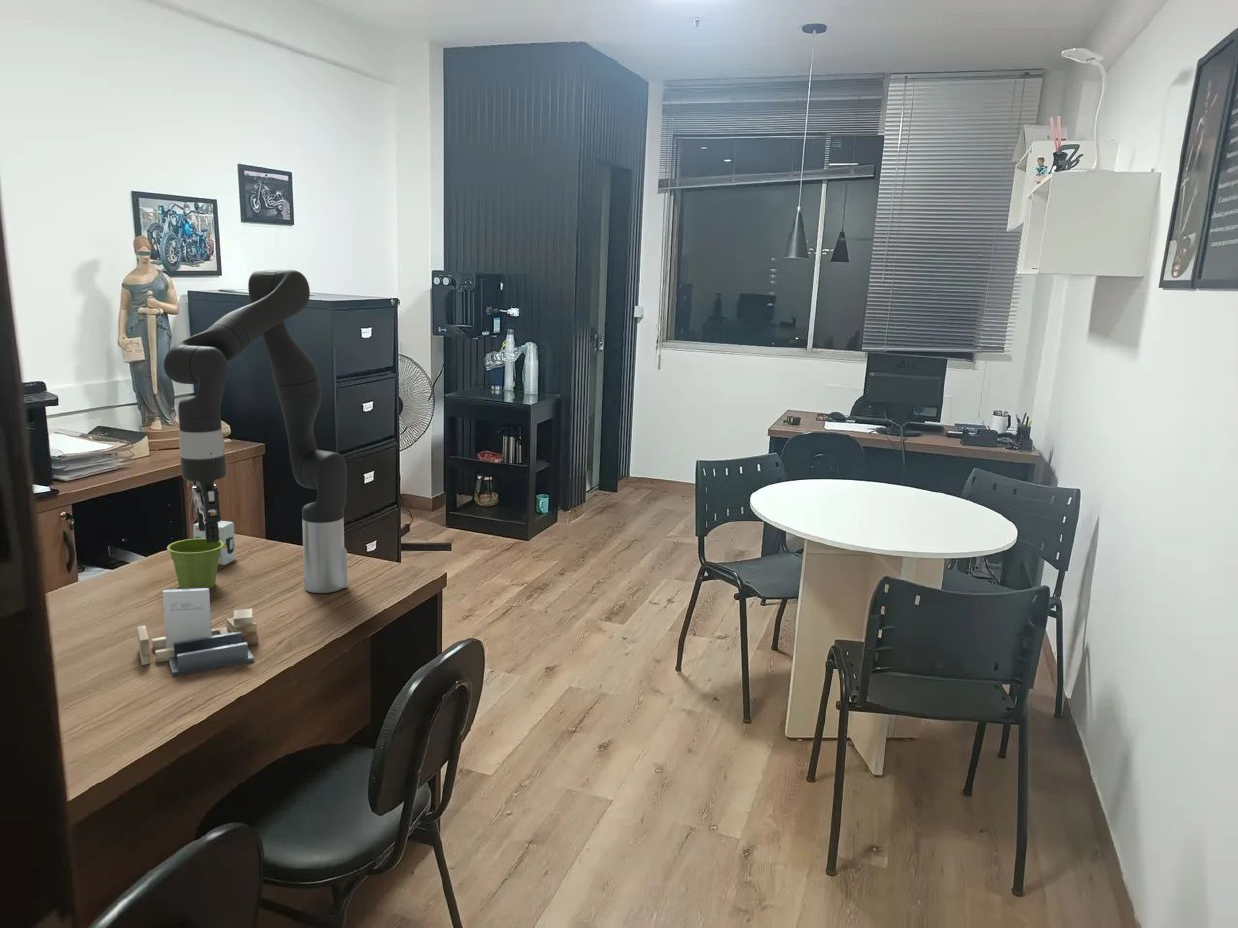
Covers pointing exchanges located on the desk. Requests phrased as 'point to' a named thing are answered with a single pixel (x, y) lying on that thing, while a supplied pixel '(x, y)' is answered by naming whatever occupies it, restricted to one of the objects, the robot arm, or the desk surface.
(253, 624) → the offcut stack
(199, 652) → the stand
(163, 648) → the frame
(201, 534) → the ink box
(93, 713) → the desk surface
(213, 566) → the plant pot
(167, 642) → the hard drive
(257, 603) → the desk surface
